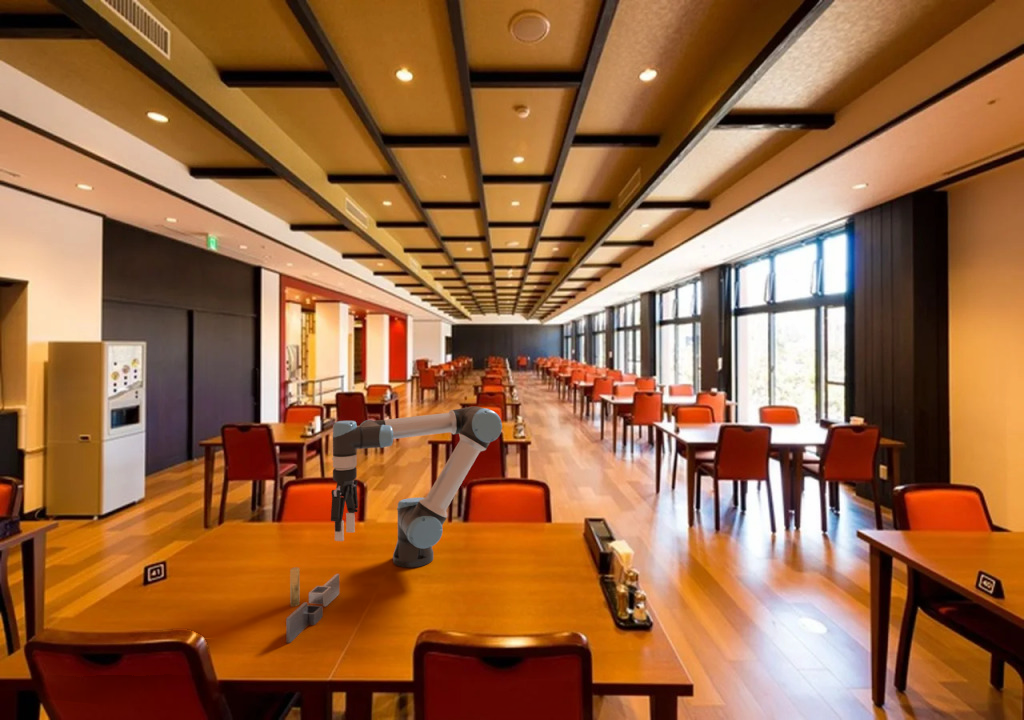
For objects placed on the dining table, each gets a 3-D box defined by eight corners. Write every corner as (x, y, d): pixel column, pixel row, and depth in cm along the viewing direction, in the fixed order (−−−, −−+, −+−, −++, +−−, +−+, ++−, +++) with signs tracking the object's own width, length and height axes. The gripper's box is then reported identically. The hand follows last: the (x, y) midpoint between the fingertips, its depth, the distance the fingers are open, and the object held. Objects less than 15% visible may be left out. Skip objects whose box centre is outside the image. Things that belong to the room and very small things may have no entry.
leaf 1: (308, 615, 145) (308, 593, 145) (322, 616, 145) (322, 594, 145) (280, 642, 132) (280, 617, 132) (296, 643, 131) (296, 619, 131)
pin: (293, 602, 153) (293, 567, 153) (301, 602, 153) (301, 567, 153) (288, 606, 151) (288, 570, 151) (296, 606, 150) (296, 571, 150)
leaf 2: (331, 593, 159) (331, 573, 159) (344, 594, 158) (344, 574, 158) (308, 614, 146) (308, 592, 146) (323, 615, 145) (323, 593, 145)
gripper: (348, 461, 174) (348, 525, 174) (318, 474, 154) (318, 547, 154) (368, 461, 173) (368, 526, 173) (340, 475, 153) (341, 548, 153)
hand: (345, 536), depth 163 cm, fingers open, 7 cm apart
